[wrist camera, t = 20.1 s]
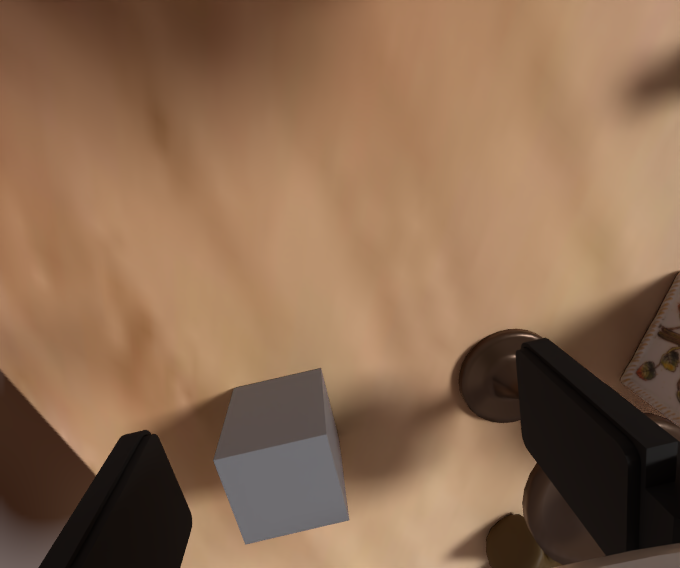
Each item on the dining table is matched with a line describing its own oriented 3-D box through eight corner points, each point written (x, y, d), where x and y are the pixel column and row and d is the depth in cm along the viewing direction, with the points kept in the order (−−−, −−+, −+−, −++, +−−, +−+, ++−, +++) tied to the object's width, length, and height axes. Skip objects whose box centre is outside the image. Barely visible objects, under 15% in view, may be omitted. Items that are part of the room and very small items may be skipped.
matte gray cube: (321, 368, 36) (326, 434, 28) (339, 439, 39) (349, 520, 30) (233, 388, 36) (213, 460, 28) (257, 458, 39) (245, 544, 30)
